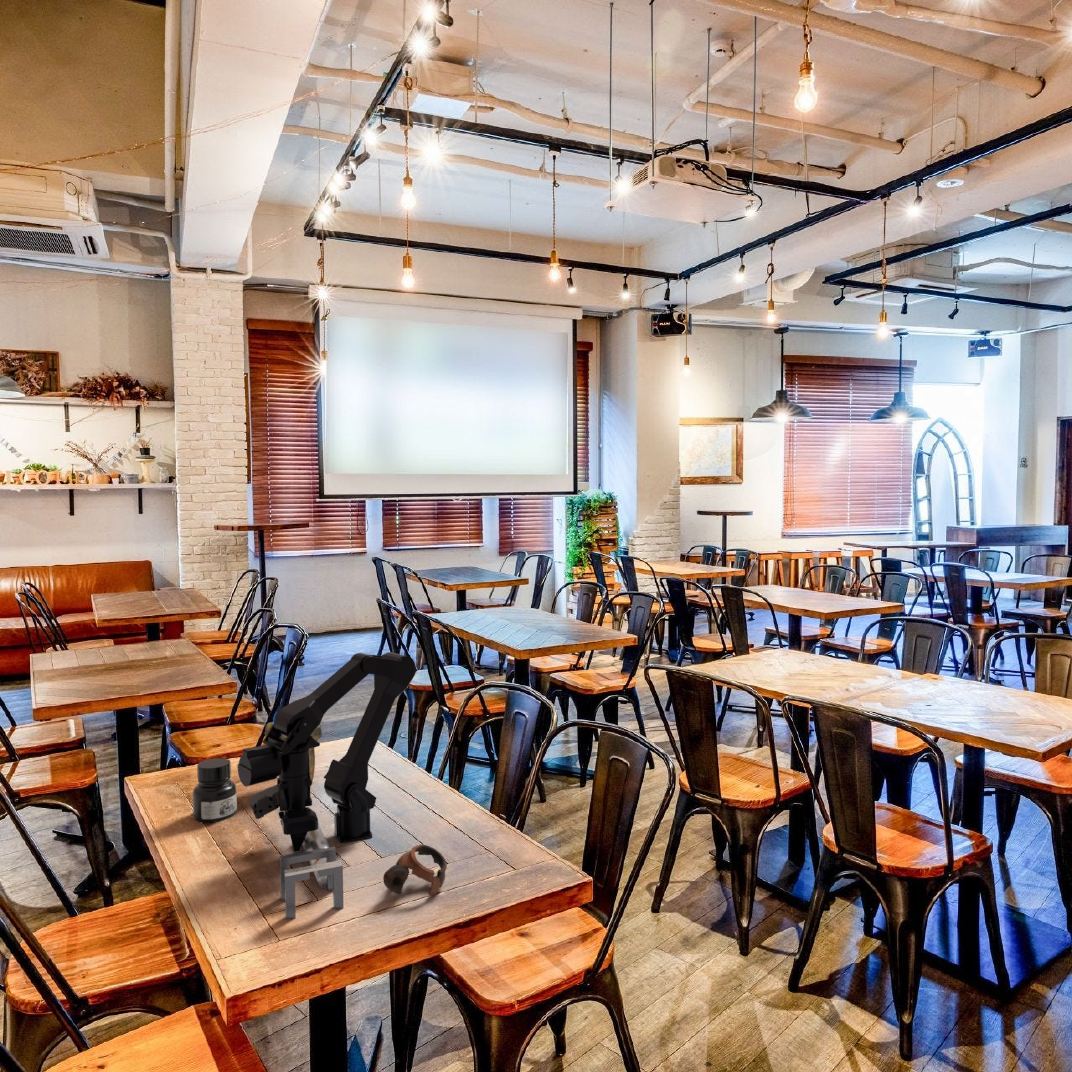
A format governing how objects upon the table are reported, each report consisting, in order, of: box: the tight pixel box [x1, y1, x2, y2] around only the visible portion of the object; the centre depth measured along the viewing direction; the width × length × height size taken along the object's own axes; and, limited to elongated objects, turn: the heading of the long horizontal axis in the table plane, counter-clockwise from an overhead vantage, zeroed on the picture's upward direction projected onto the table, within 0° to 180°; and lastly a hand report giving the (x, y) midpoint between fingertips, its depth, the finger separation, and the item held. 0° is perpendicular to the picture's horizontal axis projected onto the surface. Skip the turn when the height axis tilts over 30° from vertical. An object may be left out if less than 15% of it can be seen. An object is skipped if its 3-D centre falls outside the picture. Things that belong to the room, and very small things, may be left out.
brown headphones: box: [383, 844, 448, 897], centre depth 143 cm, size 12×9×8 cm
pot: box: [264, 722, 323, 787], centre depth 194 cm, size 17×11×18 cm, turn 150°
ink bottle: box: [192, 757, 238, 824], centre depth 178 cm, size 10×9×12 cm
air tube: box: [302, 823, 338, 890], centre depth 155 cm, size 22×4×4 cm
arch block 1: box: [279, 846, 337, 902], centre depth 143 cm, size 9×1×8 cm, turn 114°
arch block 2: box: [284, 859, 344, 921], centre depth 136 cm, size 9×1×8 cm, turn 114°
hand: (296, 850), depth 158 cm, fingers closed
